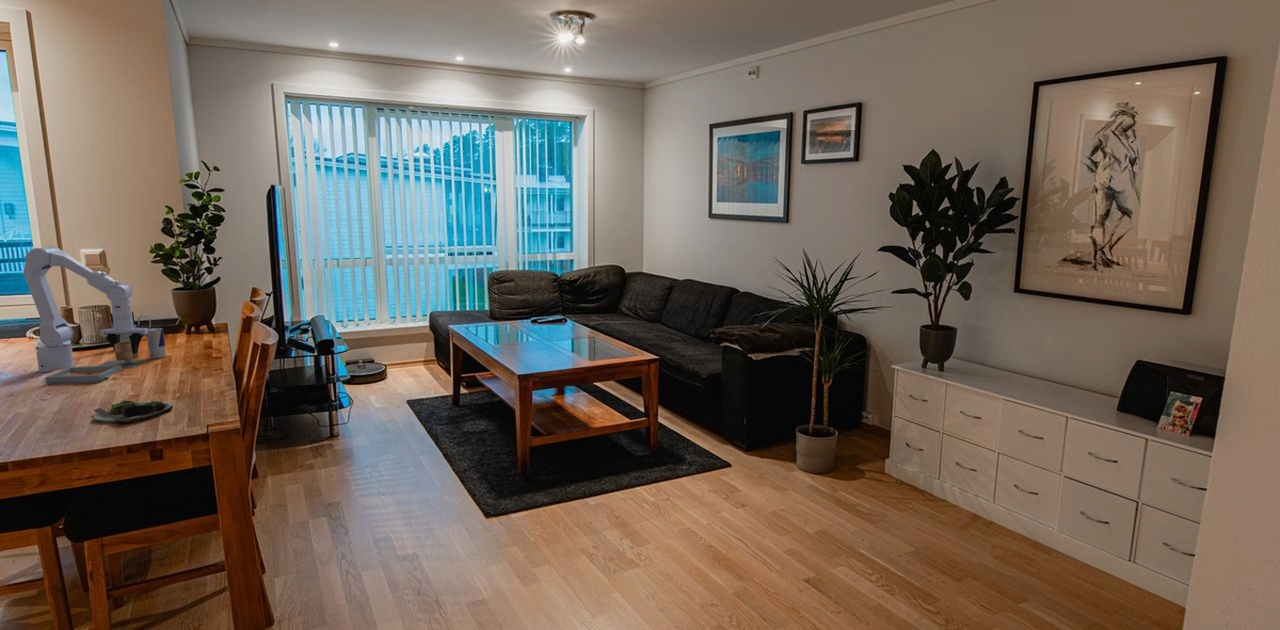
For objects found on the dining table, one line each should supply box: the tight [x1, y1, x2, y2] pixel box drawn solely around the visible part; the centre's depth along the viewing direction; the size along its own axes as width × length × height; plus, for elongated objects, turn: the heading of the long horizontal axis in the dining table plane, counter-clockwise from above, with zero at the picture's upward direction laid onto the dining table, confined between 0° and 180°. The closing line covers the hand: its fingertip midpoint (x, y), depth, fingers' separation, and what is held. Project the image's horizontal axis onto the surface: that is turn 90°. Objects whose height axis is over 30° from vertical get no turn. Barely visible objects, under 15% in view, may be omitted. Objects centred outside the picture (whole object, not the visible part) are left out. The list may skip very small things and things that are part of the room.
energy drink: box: [146, 327, 167, 360], centre depth 264 cm, size 5×5×12 cm
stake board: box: [97, 358, 152, 370], centre depth 253 cm, size 14×14×4 cm
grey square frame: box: [44, 365, 123, 385], centre depth 238 cm, size 16×14×2 cm
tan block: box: [114, 341, 139, 361], centre depth 254 cm, size 5×7×6 cm
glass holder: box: [110, 311, 152, 352], centre depth 281 cm, size 9×14×15 cm, turn 104°
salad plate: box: [93, 400, 174, 424], centre depth 200 cm, size 19×18×5 cm
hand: (126, 353), depth 254 cm, fingers closed on tan block, 5 cm apart
